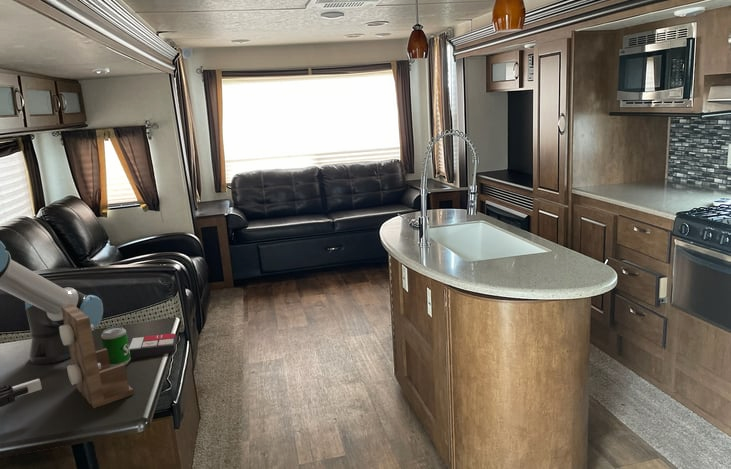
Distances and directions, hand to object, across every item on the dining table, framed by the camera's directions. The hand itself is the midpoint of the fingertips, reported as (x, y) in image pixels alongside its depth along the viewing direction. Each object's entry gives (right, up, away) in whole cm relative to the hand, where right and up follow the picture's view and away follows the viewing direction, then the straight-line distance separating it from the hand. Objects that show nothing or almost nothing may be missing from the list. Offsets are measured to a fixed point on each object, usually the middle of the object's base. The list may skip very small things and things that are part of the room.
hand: (40, 383), depth 157 cm
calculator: (+16, +1, +40) cm, 43 cm away
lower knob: (+9, -1, +8) cm, 12 cm away
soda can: (+9, -2, +30) cm, 31 cm away
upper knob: (+8, +11, +6) cm, 15 cm away
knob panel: (+12, -5, +12) cm, 18 cm away
